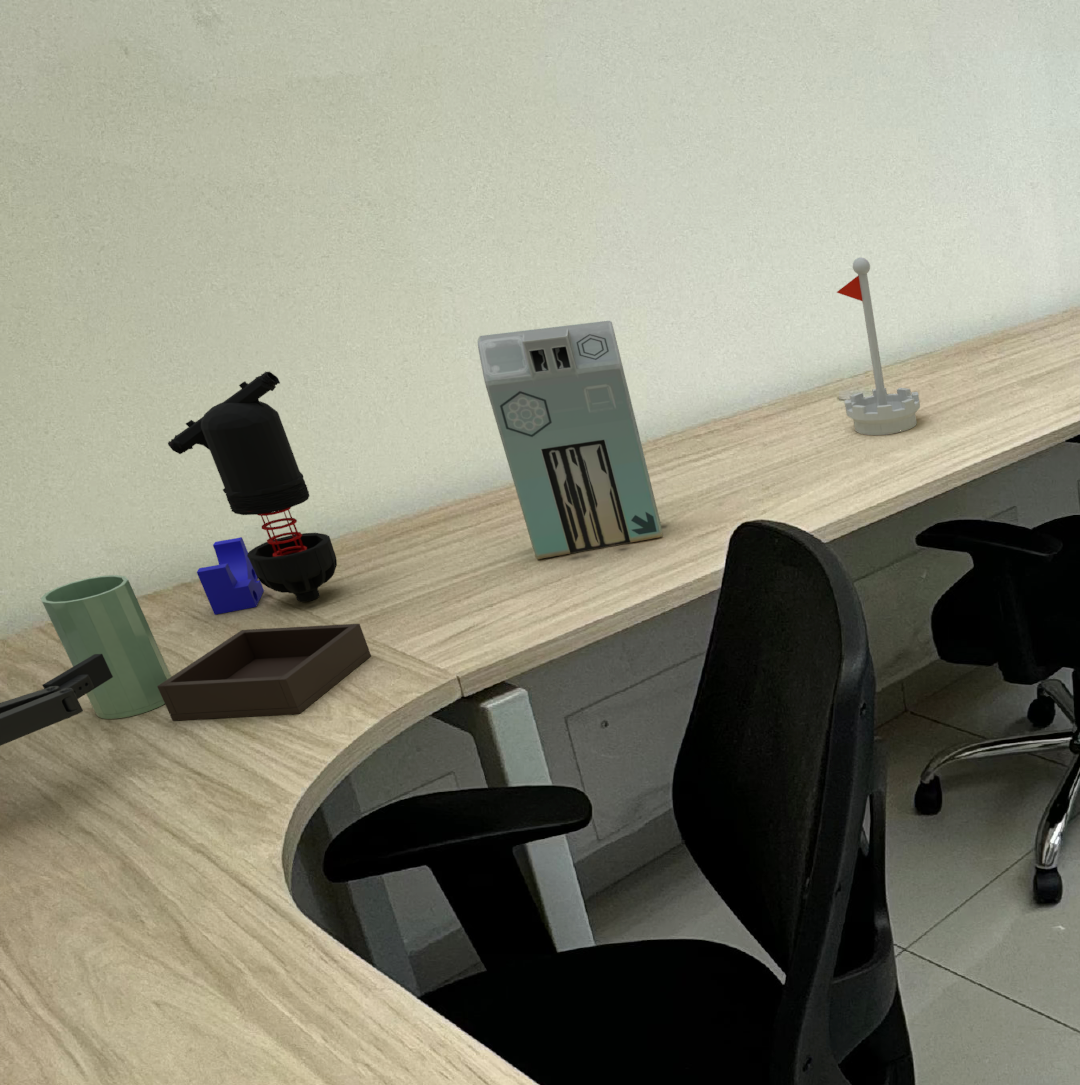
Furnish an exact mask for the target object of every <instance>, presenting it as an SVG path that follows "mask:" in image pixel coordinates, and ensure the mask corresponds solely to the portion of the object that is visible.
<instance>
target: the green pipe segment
mask: <svg viewBox="0 0 1080 1085" xmlns="http://www.w3.org/2000/svg"><path fill="white" fill-rule="evenodd" d="M39 599H40V601H41V603H42V606H43V607H44V610H45V612H46V614H47V616H48V618H49V619H50V620H49V621H50V623H51V624H52V626H53V628H54V630H55V632H56V635H57V637H58V638H59V641H60V642H61V645H62V646H63V649H64V651H65V653H66V655H67V657H68V659H69V661H70V663H71V665H72V667H74V666H75V665H77V664H79V663H80V662H82V661H84V660H86V659H87V658H89V657H91V656H92V655H94V654H102V655H103V657H104V659H105V661H106V663H107V665H108V667H109V669H110V672H111V674H112V676H113V677H112V678H111V679H109V680H108V681H106V682H104V683H103V684H101V685H100V686H98V687H96V688H95V689H93V690H92V691H90V692H88V693H87V694H86V697H87V699H88V700H89V703H90V705H91V707H92V709H93V711H94V713H95V716H96V717H98V718H100V719H104V720H115V719H124V718H129V717H134V716H138V715H142V714H144V713H147V712H151V711H153V710H155V709H158V708H160V707H162V706H164V705H165V703H164V700H163V698H162V696H161V694H160V692H159V689H158V687H157V686H158V685H160V684H161V683H163V682H164V681H166V680H167V679H169V678H170V677H172V675H171V672H170V670H169V667H168V665H167V664H166V661H165V659H164V656H163V654H162V652H161V650H160V647H159V645H158V643H157V641H156V639H155V637H154V634H153V632H152V630H151V627H150V625H149V623H148V620H147V619H146V616H145V614H144V612H143V610H142V607H141V605H140V602H139V601H138V598H137V596H136V593H135V592H134V589H133V587H132V585H131V583H130V580H129V579H128V577H127V576H126V575H120V574H111V575H99V576H93V577H87V578H84V579H79V580H75V581H71V582H69V583H66V584H63V585H59V586H57V587H55V588H53V589H51V590H49V591H47V592H46V593H44V594H43V595H42V596H41V597H40V598H39Z"/></svg>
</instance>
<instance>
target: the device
mask: <svg viewBox="0 0 1080 1085" xmlns="http://www.w3.org/2000/svg"><path fill="white" fill-rule="evenodd" d="M477 350H478V356H479V361H480V366H481V370H482V376H483V382H484V384H485V388H486V392H487V395H488V398H489V402H490V406H491V409H492V412H493V416H494V420H495V423H496V426H497V429H498V433H499V436H500V440H501V444H502V447H503V450H504V453H505V458H506V461H507V464H508V467H509V468H508V469H509V472H510V474H511V478H512V481H513V485H514V488H515V491H516V495H517V499H518V502H519V505H520V509H521V513H522V515H523V516H522V517H523V519H524V522H525V525H526V526H525V527H526V529H527V533H528V536H529V539H530V540H529V541H530V543H531V546H532V550H533V553H534V557H535V559H536V560H542V559H549V558H554V557H559V556H565V555H570V554H576V553H581V552H582V553H583V552H587V551H592V550H593V551H594V550H597V549H603V548H608V547H614V546H620V545H625V544H631V543H636V542H641V541H642V542H643V541H647V540H648V541H649V540H652V539H658V538H662V537H663V535H664V534H663V529H662V524H661V523H662V522H661V518H660V515H659V511H658V506H657V502H656V499H655V494H654V489H653V486H652V482H651V478H650V474H649V470H648V465H647V462H646V461H647V460H646V456H645V453H644V449H643V445H642V444H643V443H642V441H641V436H640V432H639V428H638V424H637V421H636V415H635V412H634V408H633V404H632V399H631V396H630V391H629V387H628V384H627V378H626V375H625V370H624V366H623V362H622V358H621V354H620V350H619V345H618V341H617V336H616V333H615V329H614V324H613V322H612V321H611V320H602V321H593V322H586V323H585V322H583V323H577V324H568V325H567V324H566V325H560V326H559V325H558V326H550V327H543V328H542V327H541V328H536V329H525V330H519V331H518V330H517V331H510V332H509V331H508V332H502V333H501V332H500V333H493V334H492V333H491V334H485V335H479V337H478V338H477Z"/></svg>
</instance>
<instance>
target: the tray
mask: <svg viewBox="0 0 1080 1085" xmlns="http://www.w3.org/2000/svg"><path fill="white" fill-rule="evenodd" d="M371 657H372V654H371V651H370V649H369V646H368V643H367V640H366V637H365V635H364V632H363V629H362V627H361V624H360V623H348V624H347V623H346V624H327V625H307V626H289V627H272V628H271V627H269V628H254V629H252V628H251V629H241V630H240V631H238V632H236V633H234V635H232V636H230V637H229V638H228V639H226V640H225V641H223V642H221V643H220V644H218V645H217V646H215V647H214V648H213V649H211V650H210V651H208V652H206V653H205V654H204V655H202V656H200V657H199V658H197V659H196V660H194V661H193V662H192V663H190V664H188V665H187V666H185V667H184V668H182V669H180V670H179V671H178V672H176V673H175V674H173V675H171V677H170V678H169V679H167V680H166V681H164V682H163V683H161V684H160V685H158V686H157V687H158V689H159V692H160V694H161V696H162V698H163V700H164V703H165V704H164V705H165V707H166V709H167V712H168V714H169V716H170V718H171V720H172V721H175V722H176V721H192V720H193V721H194V720H209V719H211V720H212V719H228V718H229V719H230V718H246V717H248V718H249V717H265V716H282V715H300V714H301V713H302V712H304V711H305V710H307V709H308V708H309V707H310V706H312V704H313V703H315V702H316V701H317V700H319V699H320V698H321V697H322V696H324V695H325V694H326V693H327V692H328V691H330V690H331V689H332V688H333V687H335V686H336V685H337V684H339V683H340V682H341V681H342V680H344V678H346V677H347V676H349V674H351V673H352V672H353V671H355V670H356V669H357V668H358V667H360V666H361V665H362V664H363V663H364V662H366V661H368V659H369V658H371Z"/></svg>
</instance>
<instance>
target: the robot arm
mask: <svg viewBox="0 0 1080 1085" xmlns="http://www.w3.org/2000/svg"><path fill="white" fill-rule="evenodd" d="M112 677H113V676H112V674H111V672H110V669H109V667H108V665H107V663H106V661H105V659H104V657H103V655H102V654H94V655H92V656H91V657H89V658H87V659H86V660H84V661H82V662H80V663H79V664H77V665H75V666H74V667H73V666H72V667H70V668H69V669H66V670H65V671H64V672H62V673H59V674H58V675H56V676H55V677H53V678H52V679H50V680H48V681H47V682H44V683H43V684H42V687H43V689H39V690H36V691H33V692H30V693H26V694H24V695H20V696H17V697H14V698H11V699H8V700H5V701H1V702H0V747H1V746H4V745H5V744H8V743H11V742H13V741H16V740H18V739H20V738H22V737H25V736H28V735H30V734H32V733H35V732H37V731H40V730H42V729H45V728H47V727H50V726H52V725H55V724H58V723H59V722H62V721H65V720H68V719H70V718H72V717H74V716H76V715H79V714H81V713H83V711H84V709H83V707H82V705H81V702H80V701H79V699H80V698H81V697H83V696H85V695H87V693H88V692H90V691H92V690H93V689H95V688H96V687H98V686H100V685H101V684H103V683H104V682H106V681H108V680H109V679H111V678H112Z"/></svg>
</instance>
